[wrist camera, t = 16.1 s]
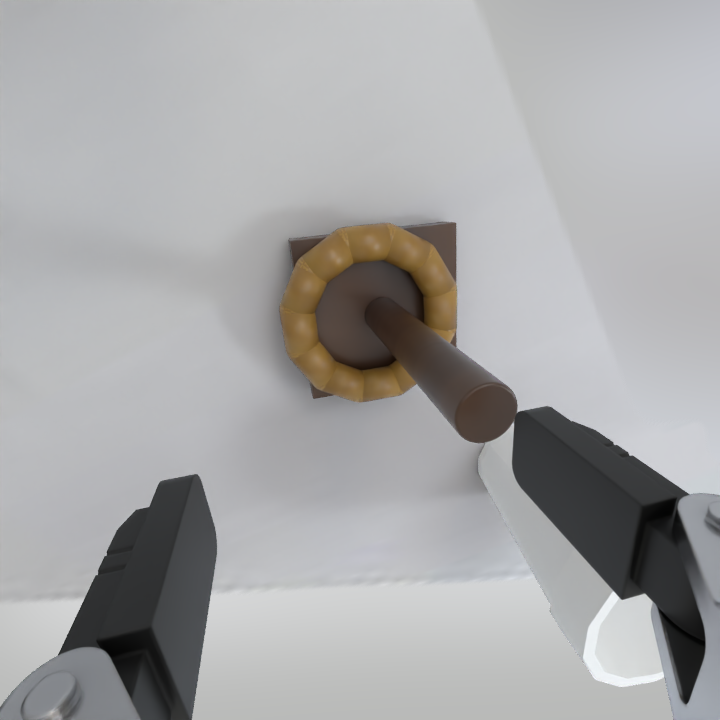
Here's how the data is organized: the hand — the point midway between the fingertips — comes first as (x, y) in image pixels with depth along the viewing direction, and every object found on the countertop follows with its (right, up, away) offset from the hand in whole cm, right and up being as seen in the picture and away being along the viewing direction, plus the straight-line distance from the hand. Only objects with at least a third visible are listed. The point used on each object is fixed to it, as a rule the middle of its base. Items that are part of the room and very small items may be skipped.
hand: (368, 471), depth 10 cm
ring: (0, +5, +12) cm, 13 cm away
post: (+1, +6, +14) cm, 15 cm away
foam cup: (+12, -5, +21) cm, 24 cm away
